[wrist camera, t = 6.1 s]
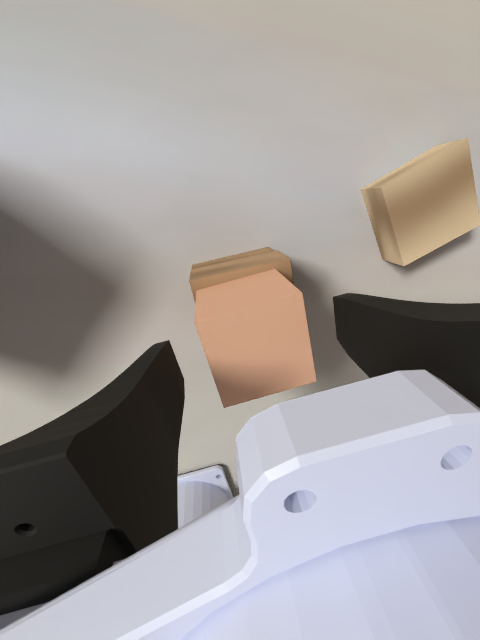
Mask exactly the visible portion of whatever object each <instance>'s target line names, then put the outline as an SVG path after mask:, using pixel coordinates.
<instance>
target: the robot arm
mask: <svg viewBox="0 0 480 640" xmlns="http://www.w3.org/2000/svg"><path fill="white" fill-rule="evenodd" d="M333 303H334V313H335V324H336V334H337V339H338V341H339V342H340V344H341V345H342V347H343V348H344V350H345V351H346V353H347V354H348V355H349V356H350V357H351V359H352V360H353V361H354V362H355V363H356V364H357V365H358V366H359V367H360V368H361V369H362V370H363V371H364V372H365V373H366V374H367V375H368V377H369V379H366V380H362V381H358V382H355V383H351V384H347V385H344V386H340V387H336V388H332V389H329V390H325V391H321V392H318V393H314V394H310V395H307V396H303V397H299V398H296V399H292V400H288V401H284V402H281V403H277V404H275V405H273V406H271V407H269V408H267V409H265V410H263V411H262V412H260V413H258V414H256V415H254V416H252V417H251V418H250V419H249V420H248V422H247V423H246V424H245V426H244V427H243V428H242V430H241V431H240V432H239V434H238V435H237V436H236V447H235V461H236V469H237V477H238V485H239V493H240V494H239V495H237V496H236V497H233V494H232V492H231V489H230V486H229V484H228V481H227V478H226V476H225V473H224V470H223V468H222V466H220V465H216V466H212V467H209V468H205V469H201V470H198V471H194V472H190V473H187V474H183V475H179V476H178V448H179V439H180V431H181V424H182V416H183V408H184V399H185V395H184V378H183V375H182V373H181V370H180V367H179V365H178V362H177V360H176V357H175V354H174V352H173V349H172V346H171V344H170V341H169V340H168V341H164V342H161V343H157V344H154V345H153V346H151V347H150V348H149V349H148V350H147V351H146V352H144V353H143V354H142V355H141V356H140V357H139V358H138V359H137V360H136V361H135V362H134V363H133V364H132V365H131V366H130V367H128V368H127V369H126V370H125V371H124V372H123V373H121V374H120V375H119V376H118V377H117V378H116V379H115V380H113V381H112V382H111V383H110V384H108V385H107V386H106V387H105V388H103V389H102V390H101V391H99V392H98V393H96V394H95V395H94V396H92V397H91V398H89V399H88V400H86V401H85V402H83V403H81V404H80V405H78V406H77V407H75V408H73V409H72V410H70V411H68V412H67V413H65V414H64V415H62V416H60V417H58V418H57V419H55V420H53V421H51V422H49V423H47V424H45V425H44V426H42V427H40V428H38V429H36V430H34V431H32V432H30V433H28V434H26V435H23V436H21V437H19V438H17V439H15V440H12V441H10V442H8V443H6V444H3V445H1V446H0V640H480V303H473V304H444V303H424V302H413V301H404V300H396V299H389V298H382V297H376V296H369V295H363V294H353V293H347V294H343V295H339V296H335V297H333Z"/></svg>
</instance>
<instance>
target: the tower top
mask: <svg viewBox="0 0 480 640" xmlns="http://www.w3.org/2000/svg"><path fill="white" fill-rule="evenodd" d="M272 269H276V270H277V271H278V272H279V273H281V274H282V275H283V276H284V277H285V278H286V279H287V280H288V281H290V282H291V283H292V284H293V278H292V269H291V261H290V258H288V257H287V256H285V255H284V254H282V253H281V252H279V251H273V252H269V253H264V254H260V255H255V256H250V257H246V258H241V259H237V260H232V261H227V262H223V263H218V264H214V265H209V266H204V267H200V268H195V269H191V274H190V280H189V281H190V285H191V289H192V292H193V296H194V300H195V303H196V290H200V289H204V288H207V287H211V286H214V285H218V284H222V283H225V282H229V281H232V280H236V279H240V278H243V277H247V276H251V275H254V274H258V273H261V272H265V271H269V270H272Z"/></svg>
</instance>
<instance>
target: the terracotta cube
mask: <svg viewBox="0 0 480 640" xmlns="http://www.w3.org/2000/svg"><path fill="white" fill-rule="evenodd" d="M195 326H196V329H197V332H198V334H199V337H200V340H201V343H202V346H203V349H204V352H205V355H206V358H207V360H208V363H209V366H210V369H211V372H212V375H213V378H214V381H215V384H216V386H217V389H218V392H219V395H220V398H221V401H222V404H223V407H224V408H225V407H229V406H232V405H236V404H239V403H243V402H246V401H250V400H253V399H257V398H260V397H264V396H267V395H271V394H274V393H278V392H281V391H285V390H288V389H292V388H295V387H299V386H302V385H306V384H309V383H313V382H316V375H315V369H314V363H313V356H312V350H311V344H310V338H309V331H308V325H307V319H306V313H305V306H304V300H303V294H302V292H301V291H300V290H299V289H297V288H296V287H295V286H294V285H293V284H292V283H291V282H290V281H288V280H287V279H286V278H285V277H284V276H283V275H282V274H281V273H279V272H278V271H277V270H276V269H272V270H269V271H265V272H261V273H258V274H254V275H251V276H247V277H243V278H240V279H236V280H232V281H229V282H225V283H222V284H218V285H214V286H211V287H207V288H204V289H200V290H196V305H195Z"/></svg>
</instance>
